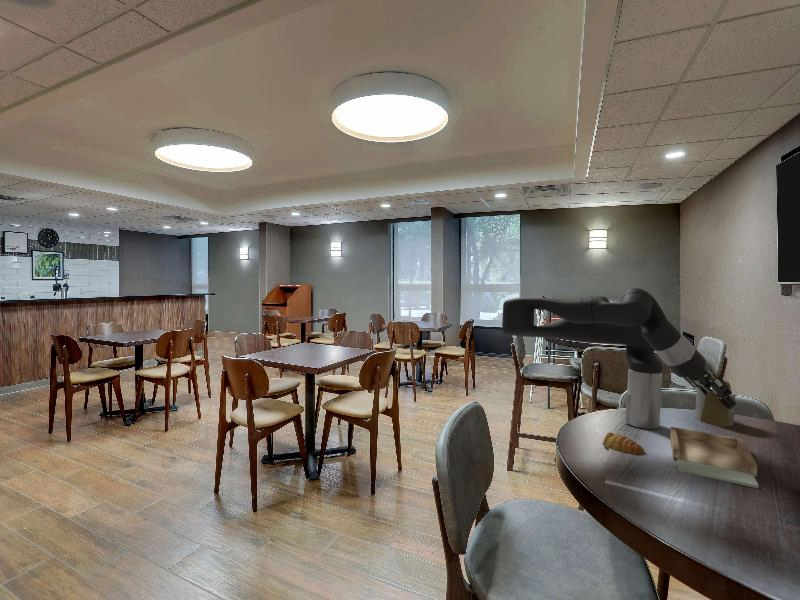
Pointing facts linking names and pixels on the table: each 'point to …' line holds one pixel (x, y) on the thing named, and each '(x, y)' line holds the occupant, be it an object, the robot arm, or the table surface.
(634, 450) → the pastry
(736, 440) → the tray
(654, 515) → the table surface
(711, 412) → the cork
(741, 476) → the panel
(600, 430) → the table surface
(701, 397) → the coffee mug
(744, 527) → the table surface
